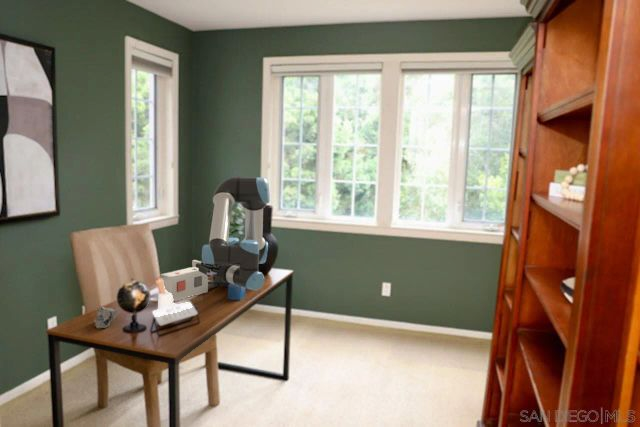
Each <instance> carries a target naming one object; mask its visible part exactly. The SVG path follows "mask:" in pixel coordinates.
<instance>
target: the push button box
mask: <svg viewBox="0 0 640 427" xmlns="http://www.w3.org/2000/svg"><path fill="white" fill-rule="evenodd" d="M199 276H201V277H202V285H199V286H196V287H194V278H195V277H199ZM160 277H161V278H163V280H164V286H165V289H166V290H167V291H168V292H170V293H172V295H173V298H174V301H175V302H179V301H182V300H185V299H184V298H186V299H188V298H187V297H188V296H192V295H196V296H199V295H202V294H205V293H208V291H209V290H210V289H213V288H216V287H217V286H216V285H214V284H212V285H209V283H208V282H209V277H207V275H205V274H203V273H202V272H200V271H199V268H196V267H193V266H189V267H186V268H181V269H177V270H172V271H168V272H164V273H160V276H159V278H160ZM180 281H186V288H185V290H183V291H179V292H178V291H177V282H180ZM192 297H193V296H192ZM181 299H182V300H181ZM178 300H179V301H178ZM175 302H174V303H175Z"/></svg>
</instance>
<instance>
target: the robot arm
mask: <svg viewBox="0 0 640 427" xmlns="http://www.w3.org/2000/svg"><path fill="white" fill-rule="evenodd" d="M270 198H271V197H270V185H269V180H268V178H267V179H266V178H264V177H258V176H257V177H247V176H246V177H243V176H240V177H239V176H232V177H228V178H226V179H224V180H223V181H222V182H221V183H219V184H218V185H217V187H216V189H215V191H214V192H213V196H212V203H213V205H214V206H213V212H212V213H213V214H212V218H211V219H212V220H211V224H210V225H211V227H210V234H209V241H208V244H204V245H202V250H201V260H197V259H193V260H191V262H192V263H191V265H192V266H191V267H196V268H199V271H200V272H202V273H203V274H205V275H207V277H208V278H210V277H211V283H213V284H212V285H216V287H217V286H218V287H228V286H229V284H230V283H231V284H235V285H236V286H237V285H238V286H241V287H244V288H245V289H246V290H252V291H259V290H260V289H262V288H263V286H264V284H265V276H264V274H263V272H261V271H259V264H265V263H266V261H267V257H268V250H269V243H268V241H266V240H265V238H264V237H263V231H264V229H263V228H264V224H263V223H264V208H266V206H267V204H269V203H270V201H271V200H270ZM236 203H241V205H242V207H243V208H244V223H245V224H244V225H245V226H244V228H245V231H244V232H245V235H244V237H243V240H240V239H239V238H238V237H230V228H231V219H232V218H231V217H232V208H233V206H234V205H235V204H236Z"/></svg>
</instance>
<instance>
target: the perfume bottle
mask: <svg viewBox="0 0 640 427" xmlns="http://www.w3.org/2000/svg"><path fill="white" fill-rule="evenodd" d="M245 297H246V288H244V287H241V286H238V285H237V286H236V285H235V284H231V283H230V284H229V286H227V299H228V300H234V301H235V300H236V301H241V300H243V299H244V298H245ZM242 298H243V299H242Z"/></svg>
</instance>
